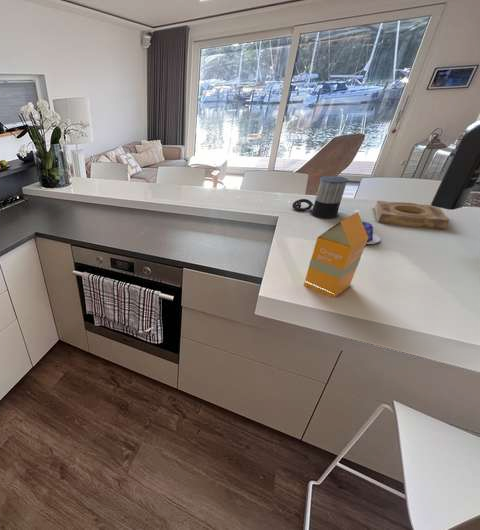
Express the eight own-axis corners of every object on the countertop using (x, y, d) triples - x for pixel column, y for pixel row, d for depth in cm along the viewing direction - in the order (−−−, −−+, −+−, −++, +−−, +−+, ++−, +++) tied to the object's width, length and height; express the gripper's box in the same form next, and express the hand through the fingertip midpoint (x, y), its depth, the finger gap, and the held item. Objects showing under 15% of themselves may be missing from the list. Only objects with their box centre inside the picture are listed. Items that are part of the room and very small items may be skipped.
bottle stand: (433, 213, 111) (437, 204, 109) (445, 230, 99) (450, 220, 97) (374, 208, 120) (377, 200, 118) (378, 222, 108) (381, 214, 106)
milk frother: (339, 219, 113) (351, 182, 106) (294, 217, 119) (302, 181, 112) (331, 207, 125) (342, 172, 117) (290, 205, 130) (298, 172, 123)
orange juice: (350, 285, 77) (377, 215, 67) (333, 298, 73) (360, 225, 63) (319, 274, 83) (340, 207, 73) (302, 285, 79) (322, 216, 69)
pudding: (332, 229, 106) (336, 216, 103) (372, 232, 102) (377, 218, 99) (340, 244, 97) (345, 229, 94) (385, 247, 92) (391, 232, 90)
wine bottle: (464, 207, 85) (526, 90, 70) (451, 210, 84) (512, 92, 69) (440, 202, 90) (494, 91, 75) (428, 205, 89) (480, 93, 74)
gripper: (500, 98, 80) (440, 138, 87) (577, 99, 63) (493, 149, 71) (512, 115, 81) (451, 153, 88) (591, 120, 64) (507, 167, 72)
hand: (470, 151), depth 79 cm, fingers closed on wine bottle, 7 cm apart
